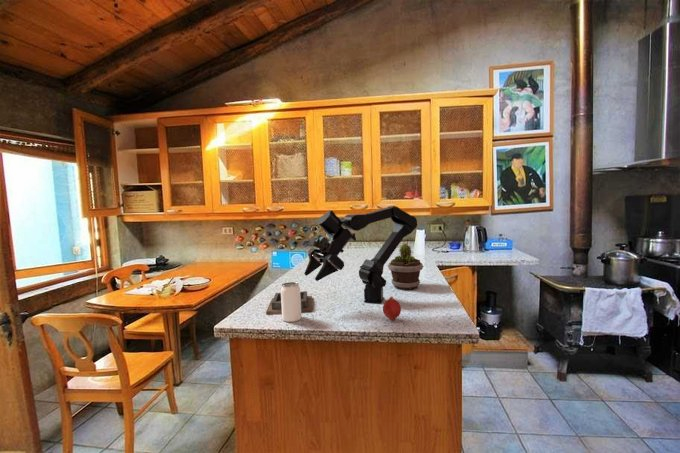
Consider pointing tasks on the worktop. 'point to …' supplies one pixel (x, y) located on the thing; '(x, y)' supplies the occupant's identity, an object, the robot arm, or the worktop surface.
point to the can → (291, 302)
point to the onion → (391, 309)
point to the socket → (276, 305)
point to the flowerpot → (405, 269)
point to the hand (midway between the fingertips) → (310, 277)
